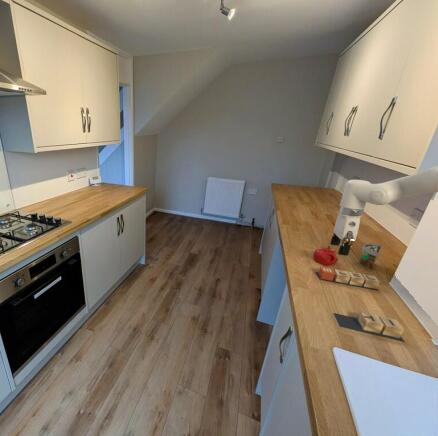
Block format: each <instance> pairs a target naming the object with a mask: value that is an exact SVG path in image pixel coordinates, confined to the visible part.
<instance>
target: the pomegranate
mask: <svg viewBox="0 0 438 436" xmlns="http://www.w3.org/2000/svg"><path fill="white" fill-rule="evenodd" d="M331 246H332V245H327V247H325V245H322V246H320V247H318V248H315V250H314V251H313V254H312V257H313V259H314V260H315V262H316V263H318V264H320V265H323V266H328V267H331V266H334V265H335V264H336V263H337V262H338V260H339V259H338V257H337V251H336V250H332V249H333V247H331Z"/></svg>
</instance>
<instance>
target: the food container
mask: <svg viewBox="0 0 438 436" xmlns="http://www.w3.org/2000/svg"><path fill="white" fill-rule="evenodd" d="M382 246H383V245H382V244H378V243H368V242H367V243H365V244H363V245H362V247H361V250H362V253H361V256H360V261H359V264H360V265H362V266H363V267H365V268H367V269H370V270H372V269H373V267H374V266H375V263H376V261H377V258H378V256H379V253H380V251H381V249H382Z"/></svg>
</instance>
